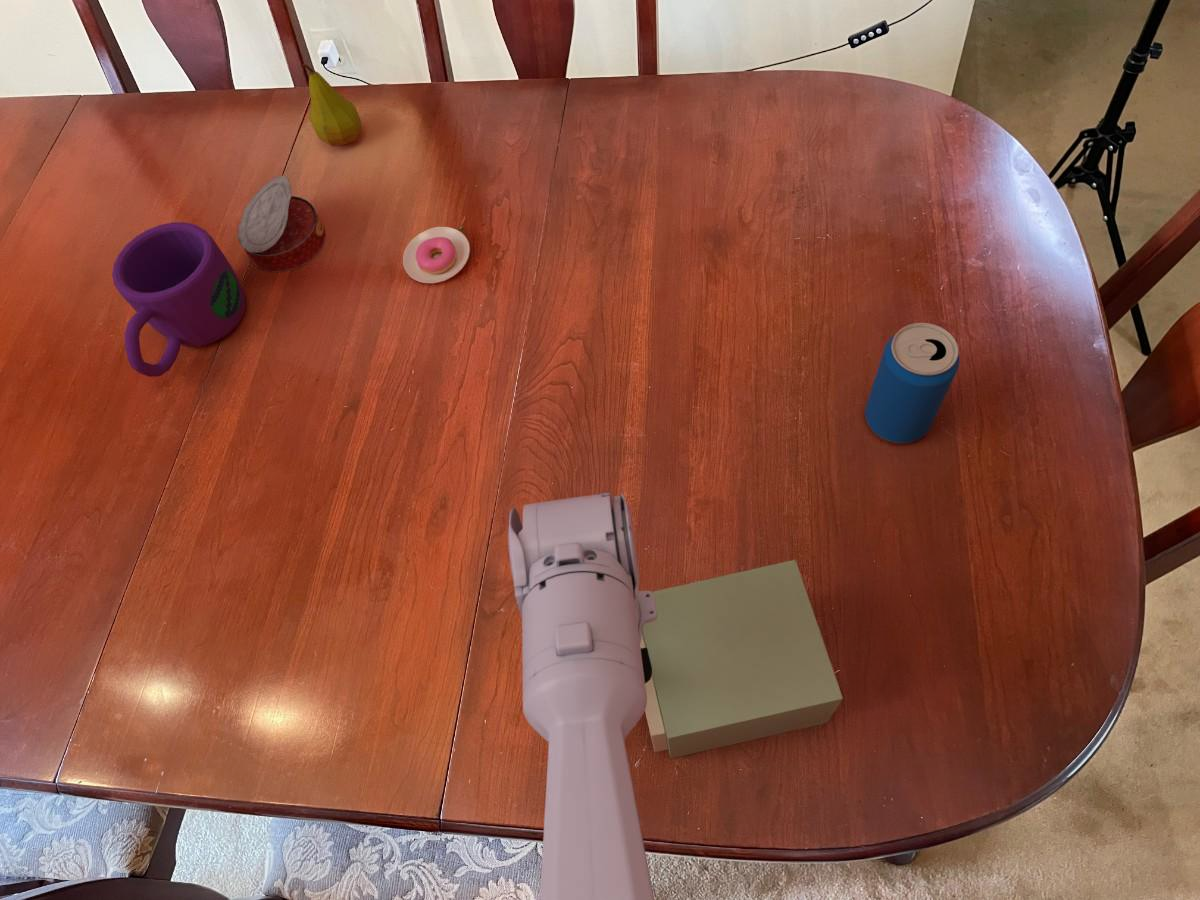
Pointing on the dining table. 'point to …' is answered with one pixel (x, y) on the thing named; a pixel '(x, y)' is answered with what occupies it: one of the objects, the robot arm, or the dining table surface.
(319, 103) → the fruit
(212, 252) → the mug
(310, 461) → the dining table surface
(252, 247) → the canned food
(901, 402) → the beverage can
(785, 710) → the cabinet
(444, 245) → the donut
